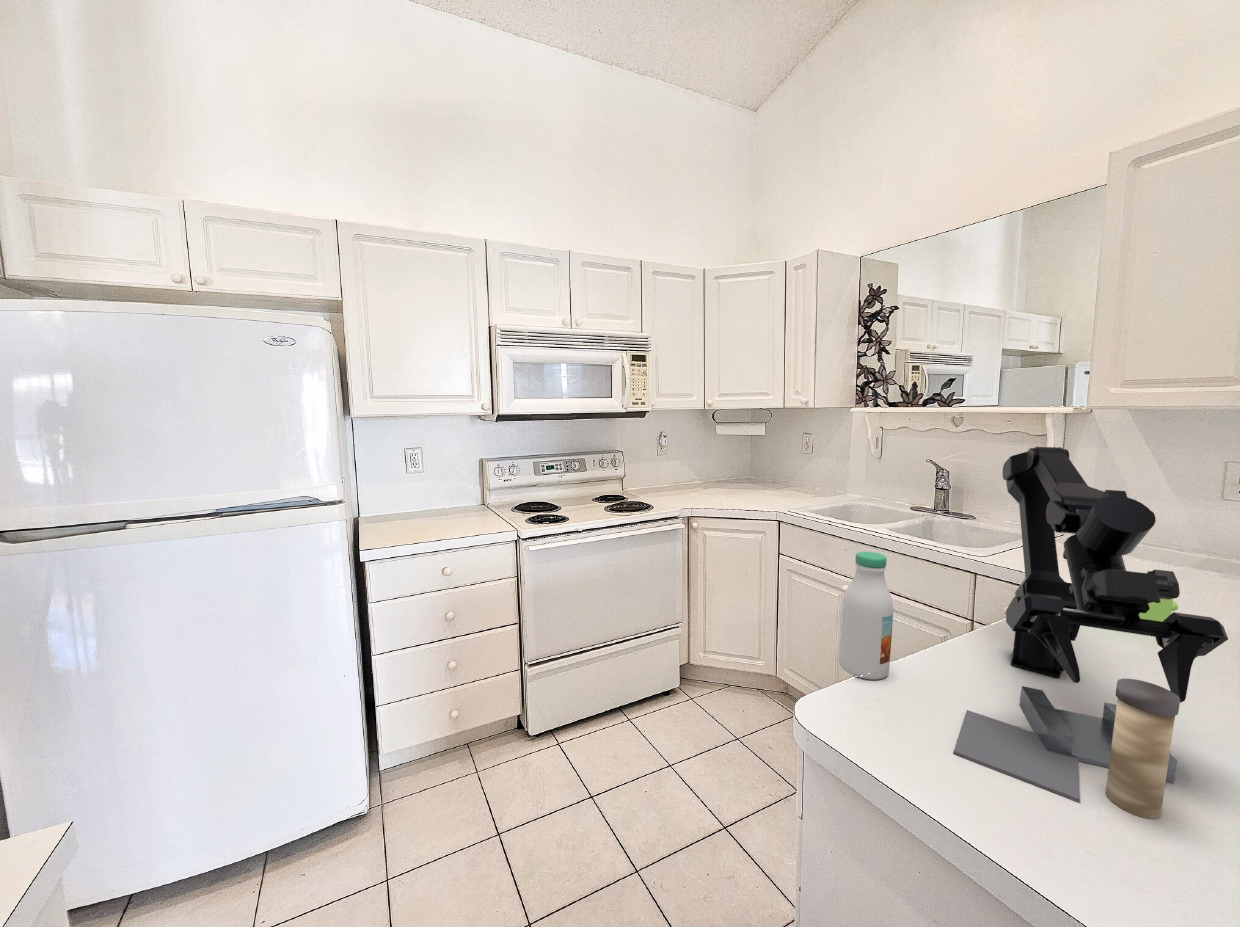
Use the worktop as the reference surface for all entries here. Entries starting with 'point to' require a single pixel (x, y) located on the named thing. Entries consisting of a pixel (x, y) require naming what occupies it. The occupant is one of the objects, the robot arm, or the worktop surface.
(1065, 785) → the pad
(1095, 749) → the grey bracket
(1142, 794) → the plug
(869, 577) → the milk bottle
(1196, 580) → the worktop surface
